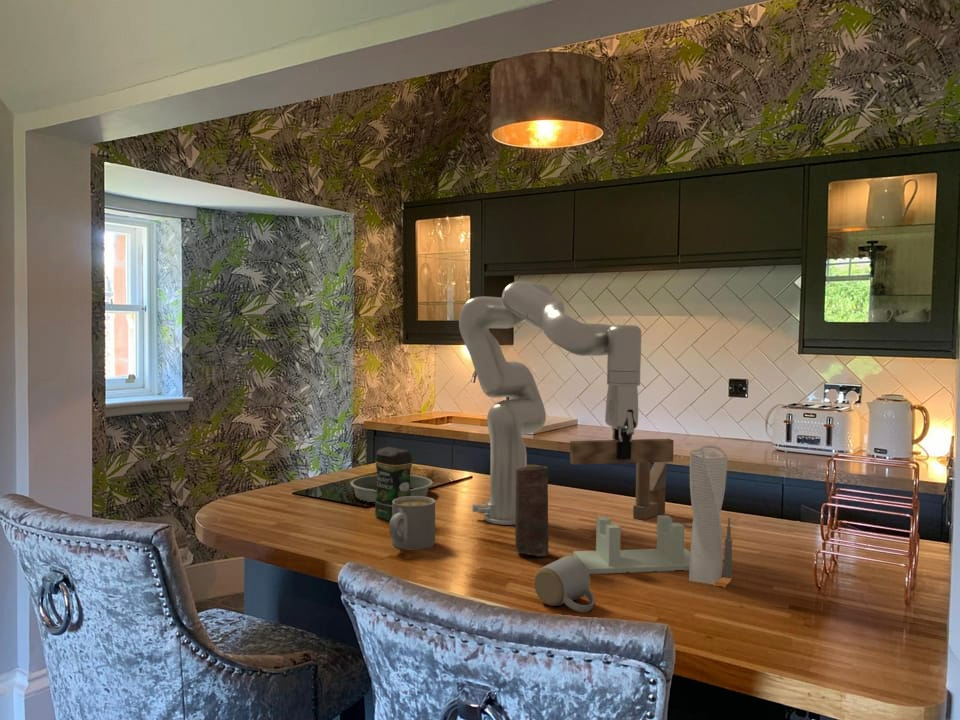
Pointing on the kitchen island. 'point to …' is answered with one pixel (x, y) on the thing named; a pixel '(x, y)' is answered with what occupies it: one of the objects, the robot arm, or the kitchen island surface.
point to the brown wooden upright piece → (650, 490)
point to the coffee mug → (413, 522)
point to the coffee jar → (391, 479)
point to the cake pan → (369, 483)
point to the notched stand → (636, 550)
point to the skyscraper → (708, 517)
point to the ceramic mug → (564, 583)
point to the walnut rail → (608, 451)
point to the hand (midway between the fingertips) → (621, 457)
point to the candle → (532, 510)
